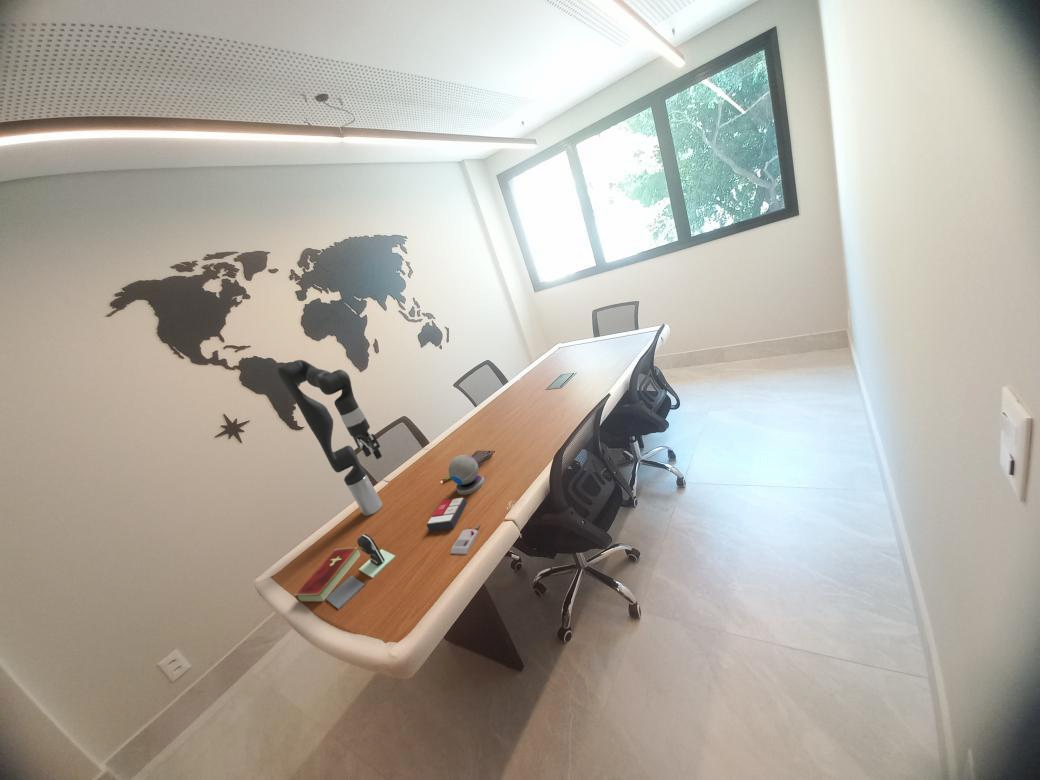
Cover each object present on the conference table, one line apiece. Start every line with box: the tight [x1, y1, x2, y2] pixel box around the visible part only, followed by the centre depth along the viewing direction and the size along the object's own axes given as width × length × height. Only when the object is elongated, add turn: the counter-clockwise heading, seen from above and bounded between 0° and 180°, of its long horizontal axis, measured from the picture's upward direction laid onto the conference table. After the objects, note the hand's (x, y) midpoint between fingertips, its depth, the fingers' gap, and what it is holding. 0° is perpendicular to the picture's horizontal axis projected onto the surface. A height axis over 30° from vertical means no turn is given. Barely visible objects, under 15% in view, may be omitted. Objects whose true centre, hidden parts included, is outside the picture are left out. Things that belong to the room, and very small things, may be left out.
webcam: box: [448, 453, 485, 496], centre depth 165 cm, size 13×13×15 cm
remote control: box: [449, 523, 481, 556], centre depth 132 cm, size 7×16×3 cm, turn 159°
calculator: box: [426, 497, 468, 533], centre depth 150 cm, size 11×4×15 cm
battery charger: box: [356, 533, 385, 566], centre depth 136 cm, size 7×4×11 cm, turn 49°
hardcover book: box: [294, 546, 361, 602], centre depth 139 cm, size 12×21×4 cm, turn 164°
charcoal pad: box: [325, 575, 366, 610], centre depth 129 cm, size 10×10×1 cm
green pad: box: [358, 548, 396, 579], centre depth 138 cm, size 10×10×1 cm
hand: (374, 456), depth 147 cm, fingers open, 8 cm apart
